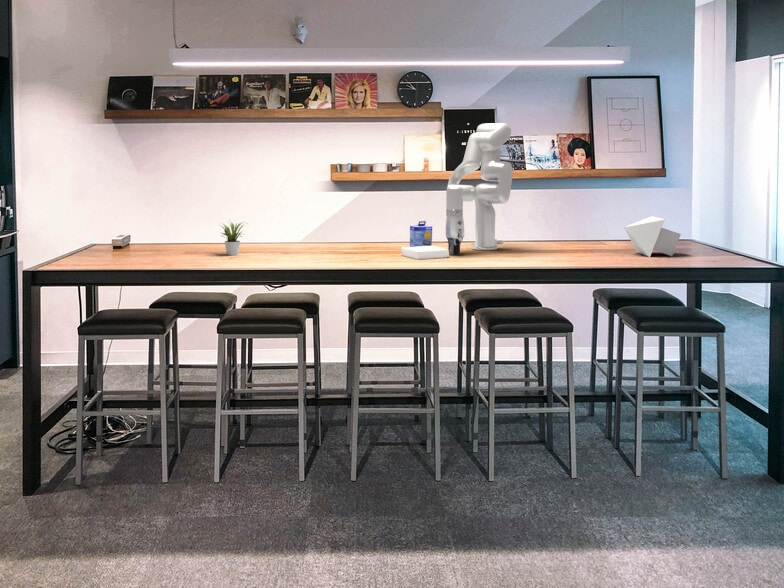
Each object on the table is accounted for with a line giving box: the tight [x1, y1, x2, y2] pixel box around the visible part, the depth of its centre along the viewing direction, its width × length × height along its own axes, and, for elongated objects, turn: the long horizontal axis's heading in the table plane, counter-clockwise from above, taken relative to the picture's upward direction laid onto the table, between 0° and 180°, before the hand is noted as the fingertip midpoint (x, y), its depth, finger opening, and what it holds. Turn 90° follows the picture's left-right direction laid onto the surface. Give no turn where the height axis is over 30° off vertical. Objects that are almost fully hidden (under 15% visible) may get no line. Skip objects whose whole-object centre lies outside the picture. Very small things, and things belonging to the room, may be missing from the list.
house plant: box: [219, 220, 248, 256], centre depth 371 cm, size 14×14×16 cm
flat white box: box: [401, 245, 450, 261], centre depth 365 cm, size 16×16×4 cm
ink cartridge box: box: [409, 220, 433, 247], centre depth 383 cm, size 10×6×14 cm, turn 115°
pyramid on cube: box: [623, 215, 682, 258], centre depth 369 cm, size 17×24×18 cm
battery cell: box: [449, 238, 459, 256], centre depth 371 cm, size 4×4×8 cm
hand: (454, 252), depth 371 cm, fingers closed on battery cell, 4 cm apart
